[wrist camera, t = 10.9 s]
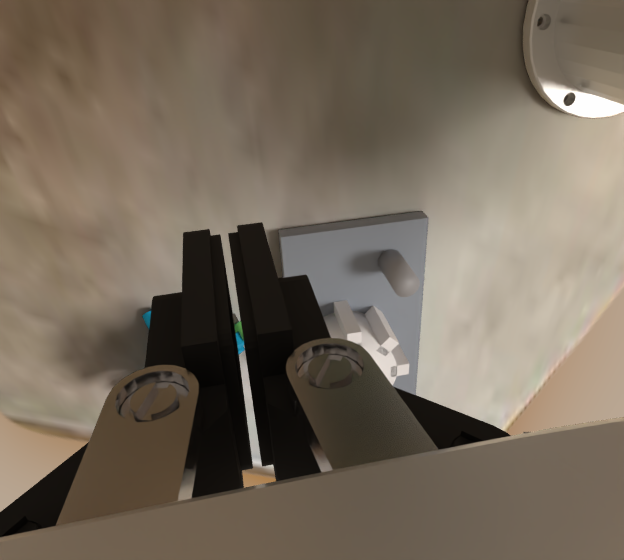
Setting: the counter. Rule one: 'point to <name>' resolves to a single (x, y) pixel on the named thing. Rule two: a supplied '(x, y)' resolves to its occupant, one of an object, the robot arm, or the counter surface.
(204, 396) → the robot arm
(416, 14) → the counter surface
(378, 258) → the carrier plate
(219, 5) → the counter surface
